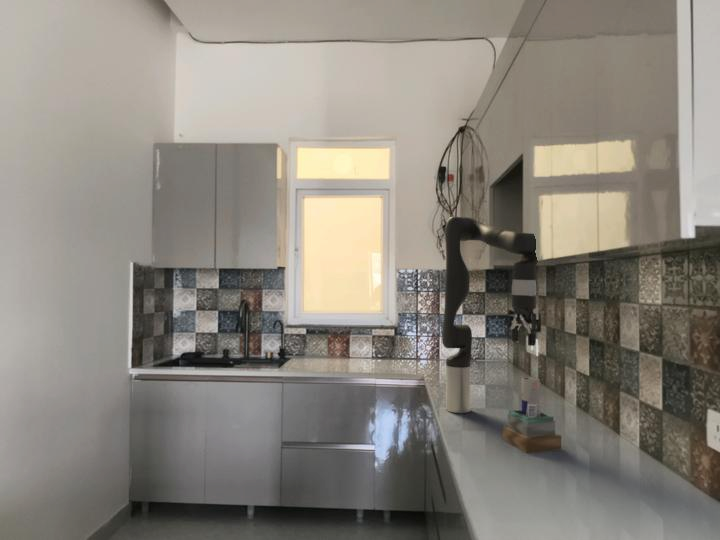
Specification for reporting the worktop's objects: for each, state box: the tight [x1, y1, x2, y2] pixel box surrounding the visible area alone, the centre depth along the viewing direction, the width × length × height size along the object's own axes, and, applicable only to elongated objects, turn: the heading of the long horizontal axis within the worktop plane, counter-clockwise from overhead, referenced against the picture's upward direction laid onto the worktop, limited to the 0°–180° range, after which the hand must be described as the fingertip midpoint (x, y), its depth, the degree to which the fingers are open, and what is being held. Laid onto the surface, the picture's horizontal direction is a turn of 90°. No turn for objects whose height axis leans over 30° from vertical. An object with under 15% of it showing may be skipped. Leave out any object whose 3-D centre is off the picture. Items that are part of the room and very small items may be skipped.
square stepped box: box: [501, 409, 562, 454], centre depth 136 cm, size 12×12×9 cm
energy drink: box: [521, 376, 541, 418], centre depth 137 cm, size 5×5×12 cm
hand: (523, 343), depth 146 cm, fingers open, 8 cm apart
